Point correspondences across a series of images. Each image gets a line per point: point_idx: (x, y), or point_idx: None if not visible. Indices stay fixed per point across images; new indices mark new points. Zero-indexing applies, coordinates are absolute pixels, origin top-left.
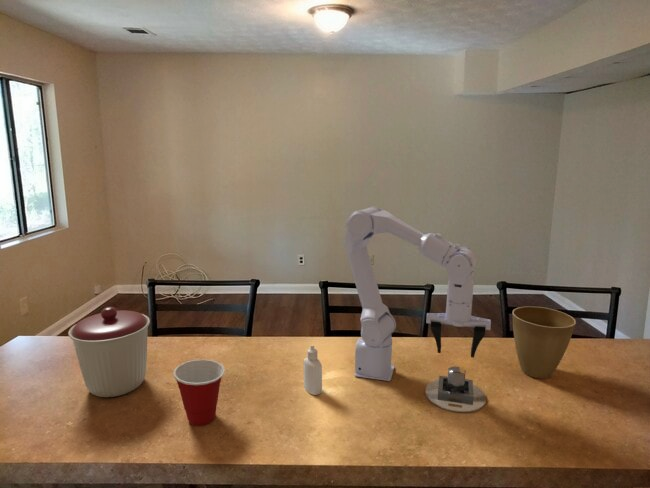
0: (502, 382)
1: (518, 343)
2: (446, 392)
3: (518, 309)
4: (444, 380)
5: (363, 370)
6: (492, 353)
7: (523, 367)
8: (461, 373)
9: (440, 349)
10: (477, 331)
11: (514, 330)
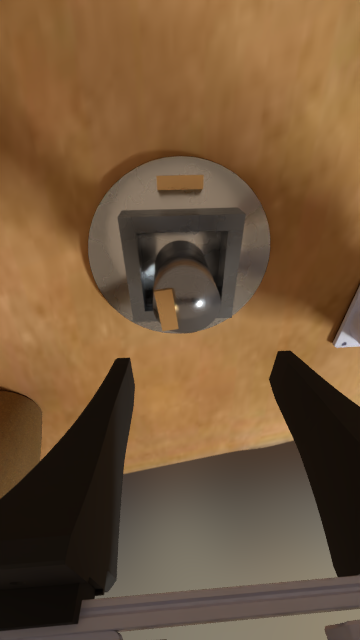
0: (68, 356)
1: (9, 477)
2: (214, 220)
3: None
4: None
5: None
6: None
7: (25, 410)
8: (168, 288)
9: (290, 364)
10: (37, 574)
11: None
